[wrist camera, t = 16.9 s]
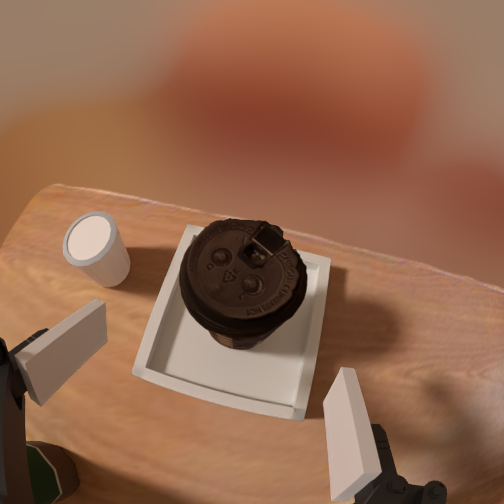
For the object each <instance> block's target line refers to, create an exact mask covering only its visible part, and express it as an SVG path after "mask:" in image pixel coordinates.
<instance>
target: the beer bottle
mask: <svg viewBox="0 0 504 504" xmlns="http://www.w3.org/2000/svg"><path fill="white" fill-rule="evenodd" d="M26 450H27V460H28V468H29V475H30V482H31V487H32V493H33V497H34V502H35V504H53V503H56V502H58V501H61V500H63V499H65V498H66V497H68V496H70V495H71V494H72V493H73V492H74V490H75V489H76V488H77V487H78V486H79V484H80V483H79V480H78V476H77V472H76V468H75V464H74V463H73V462H72V461H71V460H70V458H69V457H68V456H67V455H66V454H65V453H64V452H63V451H62V449H61V448H60V447H59V446H57V445H53V444H49V443H45V442H41V441H27V442H26Z"/></svg>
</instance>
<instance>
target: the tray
mask: <svg viewBox="0 0 504 504" xmlns="http://www.w3.org/2000/svg"><path fill="white" fill-rule="evenodd" d="M203 229H204V228H203V227H199V226H194V225H190V224H188V225H187V227H186V229H185V232H184V234H183V236H182V239H181V241H180V243H179V246H178V248H177V250H176V253H175V255H174V257H173V260H172V262H171V265H170V267H169V270H168V272H167V275H166V277H165V280H164V282H163V285H162V287H161V290H160V292H159V295H158V298H157V300H156V303H155V305H154V308H153V311H152V314H151V316H150V319H149V322H148V325H147V327H146V330H145V333H144V336H143V339H142V342H141V345H140V348H139V351H138V354H137V357H136V360H135V363H134V366H133V369H132V372H131V374H132V375H134V376H137V377H139V378H142V379H144V380H147V381H149V382H152V383H155V384H157V385H160V386H163V387H165V388H168V389H171V390H174V391H177V392H180V393H183V394H186V395H189V396H192V397H196V398H199V399H202V400H206V401H209V402H213V403H216V404H220V405H224V406H228V407H232V408H236V409H240V410H244V411H249V412H254V413H258V414H263V415H268V416H274V417H280V418H286V419H292V420H299V421H304V417H305V412H306V408H307V404H308V399H309V395H310V390H311V385H312V380H313V375H314V370H315V365H316V359H317V354H318V348H319V342H320V336H321V330H322V324H323V317H324V310H325V303H326V295H327V287H328V279H329V270H330V261H331V258H328V257H324V256H320V255H316V254H311V253H307V252H303V251H299V250H297V252H298V253H299V254H300V257H301V259H302V260H303V263H304V264H305V265H306V266H307V275H308V280H307V291H306V295H305V299H304V300H303V302H302V304H301V306H300V307H299V309H298V310H297V312H296V313H295V314H294V316H293V317H292V318H290V319H289V320H287V321H286V322H285V323H283V324H282V325H281V326H280V327H279V328H278V329H276V330H275V332H274V333H272V334H271V335H270V336H269V337H267V338H266V339H265V340H264V342H262V343H260V344H257V345H256V346H254V347H253V348H251V349H248V350H235V349H230V348H227V347H225V346H222V345H221V344H219V343H218V342H217V341H215V340H214V339H213V338H212V336H211V335H210V333H209V331H208V330H206V329H204V328H203V327H202V326H201V325H200V324H198V322H196V321H195V319H194V318H193V317H192V316H191V315H190V314H189V312H188V310H187V308H186V306H185V304H184V301H183V299H182V296H181V289H180V285H179V271H180V265H181V262H182V259H183V256H184V253H185V252H186V250H187V248H188V247H189V246H190V245H191V243H192V242H193V241H194V239H195V238H196V237H197V236H198V235H199V234H200V232H201V231H202V230H203Z"/></svg>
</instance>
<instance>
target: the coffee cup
mask: <svg viewBox="0 0 504 504" xmlns="http://www.w3.org/2000/svg"><path fill="white" fill-rule="evenodd" d="M307 280H308V275H307V266H306V265H305V264H304V263H303V260H302V259H301V257H300V254H299V253H298V252H297V250H295V249H293V248H292V245H291V243H290V241H289V240H285V239H284V238H283V231H282V230H281V228H280V227H278V226H276V225H271V224H269V223H268V222H266V221H254V220H240V219H231V218H229V219H226V220H224V221H222V220H219V221H215V222H213V223H211V224H210V225H209V226H208V227H205V228H204V229H203V230H202V231H201V232H200V234H199V235H198V236H197V237H196V238H195V239H194V241H193V242H192V243H191V245H190V246H189V247H188V248H187V250H186V252H185V253H184V256H183V259H182V262H181V265H180V271H179V285H180V289H181V296H182V299H183V301H184V304H185V306H186V308H187V310H188V312H189V314H190V315H191V316H192V317H193V318H194V319H195V321H196V322H198V324H200V325H201V326H202V327H203V328H204V329H206V330H208V331H209V333H210V335H211V336H212V338H213V339H214V340H215V341H217V342H218V343H219V344H221V345H222V346H225V347H227V348H230V349H235V350H248V349H251V348H253V347H254V346H256V345H257V344H260V343H262V342H264V340H265V339H266V338H267V337H269V336H270V335H271V334H272V333H274V332H275V330H276V329H278V328H279V327H280V326H281V325H282V324H283V323H285V322H286V321H287V320H289V319H290V318H292V317H293V316H294V314H295V313H296V312H297V310H298V309H299V307H300V306H301V304H302V302H303V300H304V299H305V295H306V291H307Z"/></svg>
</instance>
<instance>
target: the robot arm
mask: <svg viewBox="0 0 504 504" xmlns="http://www.w3.org/2000/svg"><path fill="white" fill-rule="evenodd" d="M106 342H107V326H106V302H104V301H101V300H99V299H96V298H95V299H93V300H92V301H90V302H89V303H87V304H86V305H84V306H83V307H81V308H80V309H78V310H77V311H75V312H74V313H73V314H71V315H70V316H68V317H67V318H65V319H64V320H62V321H61V322H60V323H58V324H57V325H55V326H54V327H52V328H51V329H50V330H49V329H47V328H46V329H43V330H40V331H37V332H36V333H35V334H33V335H32V337H31V336H30V337H29V338H28V339H27V340H25V341H23V342H22V343H21V344H19V345H18V346H16V347H15V348H14V349H12V350H11V351H10V352H8V350H7V347H6V344H5V341H4V340H3V339H2V338H1V337H0V504H35V502H34V497H33V493H32V487H31V482H30V475H29V468H28V460H27V450H26V435H25V395H24V393H25V392H26V391H28V393H29V396H30V398H31V399H32V400H33V401H34V402H36V403H37V404H38V405H40V406H42V405H43V404H44V403H45V402H46V401H47V400H48V399H49V398H50V397H51V396H52V395H53V394H54V393H55V392H56V391H57V390H58V389H59V388H60V387H61V386H62V385H63V384H64V383H65V382H66V381H67V380H68V379H69V378H70V377H71V376H72V375H73V374H74V373H75V372H76V371H77V370H78V369H79V368H80V367H81V366H82V365H83V364H84V363H85V362H86V361H87V360H88V359H89V358H91V357H92V356H93V355H94V354H95V353H96V352H97V351H98V350H99V349H100V348H101V347H102V346H103V345H104V344H105V343H106ZM323 407H324V416H325V426H326V436H327V447H328V459H329V473H330V488H331V501H348V500H350V499H351V498H352V497H353V496H354V497H355V503H353V504H446V497H447V489H446V487H445V485H444V484H443V483H442V482H439V481H430V482H428V483H427V484H426V485H425V486H418V485H412V484H408V482H407V481H406V479H405V478H403V477H402V476H400V475H398V474H397V472H396V468H395V464H394V460H393V456H392V453H391V449H390V446H389V442H388V439H387V435H386V432H385V431H384V430H383V428H382V427H381V426H380V424H370V421H369V417H368V413H367V410H366V406H365V403H364V399H363V396H362V392H361V389H360V385H359V382H358V379H357V375H356V372H355V369H353V368H346V367H341V369H340V371H339V373H338V375H337V377H336V379H335V381H334V383H333V384H332V386H331V388H330V390H329V392H328V394H327V396H326V398H325V399H324V401H323Z"/></svg>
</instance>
